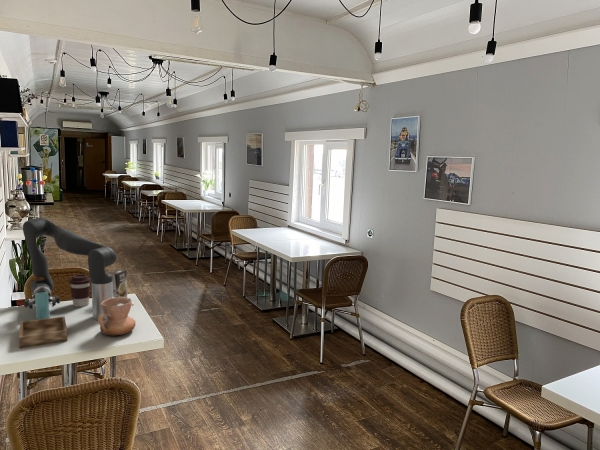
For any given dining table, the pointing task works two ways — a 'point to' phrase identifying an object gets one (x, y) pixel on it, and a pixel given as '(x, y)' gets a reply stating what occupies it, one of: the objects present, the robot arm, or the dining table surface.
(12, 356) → the dining table surface
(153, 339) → the dining table surface
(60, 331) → the walnut crate
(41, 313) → the teal canister
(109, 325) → the ceramic jug
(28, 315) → the dining table surface
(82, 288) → the coffee cup
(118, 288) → the coffee box
